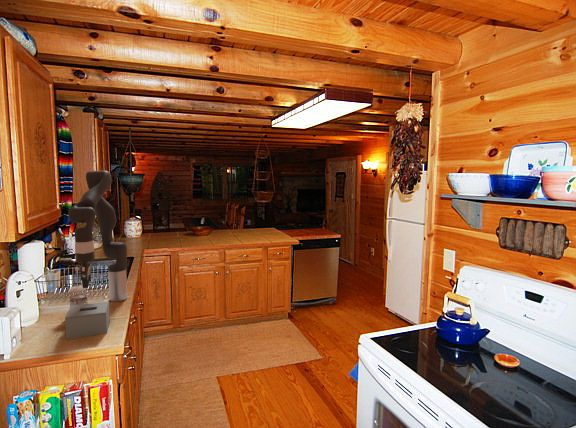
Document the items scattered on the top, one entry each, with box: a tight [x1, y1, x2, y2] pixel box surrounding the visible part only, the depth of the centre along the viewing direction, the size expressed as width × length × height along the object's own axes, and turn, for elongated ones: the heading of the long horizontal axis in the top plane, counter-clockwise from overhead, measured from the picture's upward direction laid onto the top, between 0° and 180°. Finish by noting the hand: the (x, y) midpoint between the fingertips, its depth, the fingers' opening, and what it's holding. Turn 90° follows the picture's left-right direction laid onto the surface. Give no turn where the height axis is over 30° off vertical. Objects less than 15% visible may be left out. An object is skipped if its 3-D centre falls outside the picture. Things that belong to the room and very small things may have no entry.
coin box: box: [64, 300, 111, 340], centre depth 162 cm, size 14×16×10 cm
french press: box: [68, 267, 89, 308], centre depth 176 cm, size 10×12×25 cm
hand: (87, 284), depth 160 cm, fingers open, 8 cm apart
